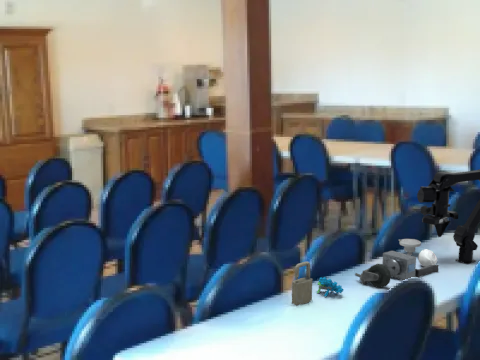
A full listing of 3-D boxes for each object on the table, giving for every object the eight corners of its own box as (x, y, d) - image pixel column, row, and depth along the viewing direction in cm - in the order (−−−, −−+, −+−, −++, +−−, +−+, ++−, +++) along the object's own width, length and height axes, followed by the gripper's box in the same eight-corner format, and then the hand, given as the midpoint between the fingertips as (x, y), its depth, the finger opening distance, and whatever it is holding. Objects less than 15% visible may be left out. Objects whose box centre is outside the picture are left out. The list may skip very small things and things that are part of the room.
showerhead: (396, 236, 316) (418, 236, 316) (395, 251, 317) (417, 252, 317) (400, 242, 307) (423, 242, 306) (400, 257, 308) (422, 258, 308)
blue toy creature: (349, 292, 258) (334, 277, 253) (342, 305, 256) (327, 290, 251) (327, 288, 267) (313, 273, 262) (320, 301, 264) (306, 287, 259)
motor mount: (409, 263, 299) (410, 243, 297) (438, 272, 288) (440, 251, 286) (376, 274, 284) (377, 253, 283) (405, 283, 273) (406, 261, 272)
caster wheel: (391, 289, 269) (358, 277, 278) (394, 266, 266) (361, 255, 276) (383, 293, 265) (351, 281, 274) (387, 269, 262) (353, 258, 272)
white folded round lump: (432, 270, 289) (433, 253, 288) (415, 267, 294) (415, 250, 292) (439, 266, 296) (440, 249, 294) (422, 263, 300) (423, 246, 299)
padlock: (290, 302, 251) (290, 263, 248) (305, 297, 256) (306, 259, 253) (298, 305, 248) (298, 265, 245) (313, 300, 253) (314, 261, 250)
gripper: (437, 195, 307) (436, 229, 310) (412, 201, 295) (410, 236, 298) (460, 199, 298) (457, 234, 301) (435, 205, 287) (433, 241, 289)
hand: (439, 236), depth 298 cm, fingers closed
